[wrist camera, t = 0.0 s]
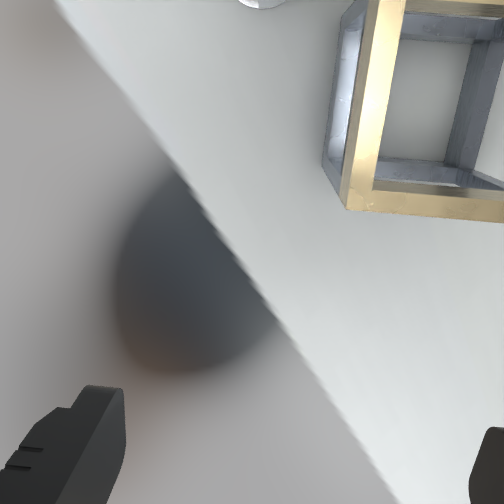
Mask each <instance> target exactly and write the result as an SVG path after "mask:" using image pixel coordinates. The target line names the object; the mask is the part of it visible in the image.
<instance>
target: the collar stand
mask: <svg viewBox="0 0 504 504" xmlns="http://www.w3.org/2000/svg"><path fill="white" fill-rule="evenodd" d="M404 11H415V12H429V13H442V14H456V15H469V16H483V17H496V18H502V19H498V20H485V19H471V18H458V17H444V16H431V15H417V14H404ZM361 36H363V41H362V47H361V54H360V60H359V67H358V73H357V80H356V86H355V93H354V99H353V106H352V112H351V119H350V125H349V132H348V138H347V145H346V151H345V154H343V152H344V146H345V139H346V132H347V126H348V119H349V113H350V106H351V99H352V93H353V86H354V80H355V73H356V67H357V60H358V53H359V47H360V40H361ZM399 39H412V40H425V41H438V42H451V43H464V44H472V48H471V52H470V56H469V60H468V64H467V69H466V73H465V77H464V81H463V85H462V89H461V93H460V98H459V102H458V106H457V110H456V114H455V118H454V123H453V127H452V131H451V135H450V139H449V143H448V147H447V152H446V156H445V160H444V162H436V161H424V160H412V159H400V158H388V157H378V152H379V147H380V141H381V136H382V130H383V125H384V119H385V114H386V108H387V103H388V97H389V92H390V86H391V81H392V76H393V70H394V65H395V59H396V54H397V48H398V43H399ZM503 59H504V0H355V1H354V3H353V4H352V5H351V6H350V7H349V8H348V10H347V11H346V12H345V13H344V14H343V15H342V18H341V25H340V32H339V40H338V47H337V55H336V62H335V70H334V77H333V84H332V92H331V99H330V107H329V114H328V122H327V129H326V136H325V144H324V151H323V159H322V168H323V170H324V172H325V173H326V175H327V177H328V179H329V180H330V182H331V184H332V186H333V187H334V189H335V191H336V193H337V195H338V196H339V198H340V200H341V202H342V203H343V205H344V207H345V209H346V210H358V211H369V212H381V213H392V214H404V215H415V216H426V217H438V218H449V219H461V220H472V221H484V222H495V223H504V182H503V181H500V180H498V179H495V178H493V177H490V176H488V175H486V174H483V173H481V172H478V171H476V170H474V167H475V163H476V159H477V156H478V152H479V148H480V145H481V141H482V137H483V133H484V130H485V126H486V122H487V118H488V115H489V111H490V107H491V104H492V100H493V96H494V92H495V89H496V85H497V81H498V78H499V74H500V70H501V66H502V63H503ZM374 177H383V178H394V179H406V180H418V181H430V182H441V183H453V184H456V185H458V186H460V187H450V186H439V185H427V184H415V183H404V182H392V181H380V180H374Z"/></svg>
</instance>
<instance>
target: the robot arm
mask: <svg viewBox="0 0 504 504" xmlns="http://www.w3.org/2000/svg"><path fill="white" fill-rule="evenodd" d="M125 447H126V430H125V411H124V394H123V390H122V389H121V388H113V387H103V386H93V385H87V386H85V387H84V388H83V390H82V391H81V393H80V394H79V396H78V397H77V399H76V400H75V402H74V403H73V405H72V406H71V408H60V407H57V408H56V409H54V410H53V411H52V412H50V413H49V414H48V415H46V416H45V417H44V418H42V419H41V420H40V421H38V422H37V423H36V424H35V425H34V426H33V427H32V429H31V430H30V431H29V433H28V434H27V435H26V437H25V438H24V440H23V441H22V442H21V444H20V445H19V448H18V450H16V451H15V452H14V453H13V455H12V456H11V458H10V459H9V460H8V461H7V463H6V464H5V468H4V469H2V470H1V471H0V504H106V503H107V501H108V498H109V496H110V493H111V491H112V489H113V486H114V484H115V482H116V479H117V477H118V474H119V472H120V469H121V466H122V463H123V459H124V454H125ZM469 497H470V502H471V504H504V428H501V427H490V428H489V429H488V430H487V431H486V433H485V436H484V439H483V441H482V444H481V447H480V450H479V453H478V455H477V458H476V461H475V464H474V466H473V469H472V472H471V475H470V478H469Z"/></svg>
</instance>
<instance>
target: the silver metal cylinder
mask: <svg viewBox="0 0 504 504" xmlns="http://www.w3.org/2000/svg"><path fill="white" fill-rule="evenodd" d="M238 1H239V2H241V3H243V4H245V5H247V6H248V7H252V8H257V9H268V8H273V7H275V6H278V5H280V4H282V3H284V2H285V1H286V0H238Z"/></svg>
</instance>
